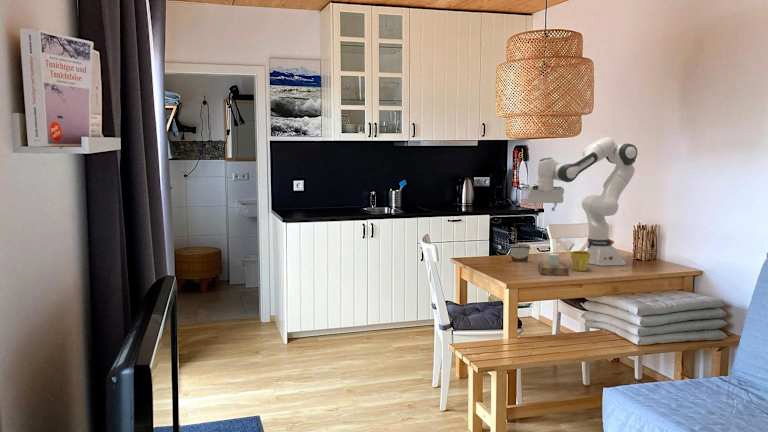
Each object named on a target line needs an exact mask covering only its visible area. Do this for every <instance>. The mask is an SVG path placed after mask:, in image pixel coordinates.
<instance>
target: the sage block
mask: <svg viewBox="0 0 768 432" xmlns="http://www.w3.org/2000/svg"><path fill="white" fill-rule="evenodd" d="M559 259H560V255H559V254H558V253H547V263H548V266H559V263H560V260H559Z"/></svg>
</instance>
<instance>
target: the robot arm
mask: <svg viewBox="0 0 768 432" xmlns="http://www.w3.org/2000/svg"><path fill="white" fill-rule="evenodd" d="M637 156H638V148H637V147H636V145H635V144H632V143H619V144H616V142H615V141H614V139H613V138H612V137H609V136H606V137H602V138H600V139H597V140H595V141H594V142H592V143H590V144H588V145H587V146H585V147H584V148H583V150H582V157H581V158H580V159H578V160H577V161H576V162H573V163H561V162H558V161H556V160H555V159H553V158H552V157H545V158H541V159H540V160H539V161H538V164H537V165H538V166H537V177H538V179H537V183H534V184H531V185H529V186H528V188H529V190H527V193H526V203H529V204H532V205H533V207H534V211H535V212H536V211H538V210H539V209H538V208H539V207H537V206H536V205H537V204H553V207H551V211H552V212H555V211H556V210H555V209H556V207H557V205H558V204H562V203H564V194H565V189H564V187H562V186H554V181H559V182H560V181H561V182H565V183H571V182H573V181H574V180H576V178H577V177H578V176H579V175H580V174H581V173H582V172H584V171H586V170H587V169H588V168H590V167H591V166H593V165H594V164H596V163H598V162H600V161H603V160H604V159H606V160H607V162H609V163H611V164H615V167H614V169H613V171H612V172H611V173H610V175H609V176H608V177H607V179H605V181H604V182H603V185H602V187H603V191H602V193H601V194H600V195H595V194H591V195H587V196H585V197H584V198H583V199H582V201H581V207H582V209H583V211H584V212H585V214H586V219H587V222H588V237H587V243H586V244H587V245H586V246H587V251H586V252H590V259H589V262H588V265H589V264H591V265H596V266H602V267H604V266H626V265H627V261H625V260H623V258H622V253H621V252H620V251H619V250H618V249H617V248H615V247H614V246H613V245H614V244H615V241H614V240H611V239H610V238H609V235H610V233H609V231H610V226H609V224H608V222H607V221H606V218H605V217H610V216H614V215H615V214H617V212H618V210H619V203H618V202H619V198H620V196H621V194H622V193H623V192H624V189H626V187H627V186H628V184H629V183H630V181H632V178H633V177H634V174H635V171H636V170H635V167H634V164H635V162H636V159H637Z"/></svg>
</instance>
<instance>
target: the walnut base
mask: <svg viewBox="0 0 768 432" xmlns="http://www.w3.org/2000/svg"><path fill="white" fill-rule="evenodd" d="M537 271H538V273H539V274H540V276H557V275H562V277H563V276H565V277H567V276H569V267H568V266H567V265H566V263H564V262H559V266H548V262H538V263H537Z"/></svg>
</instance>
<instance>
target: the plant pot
mask: <svg viewBox="0 0 768 432" xmlns="http://www.w3.org/2000/svg"><path fill="white" fill-rule="evenodd" d="M570 259H571V260H572V266H573V270H574V271H577V272H587V269H588V265H589V263H588V262H589V259H590V252H587V251H585V250H584V251H583V250H575V251H573V250H572V251H571V252H570Z"/></svg>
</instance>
